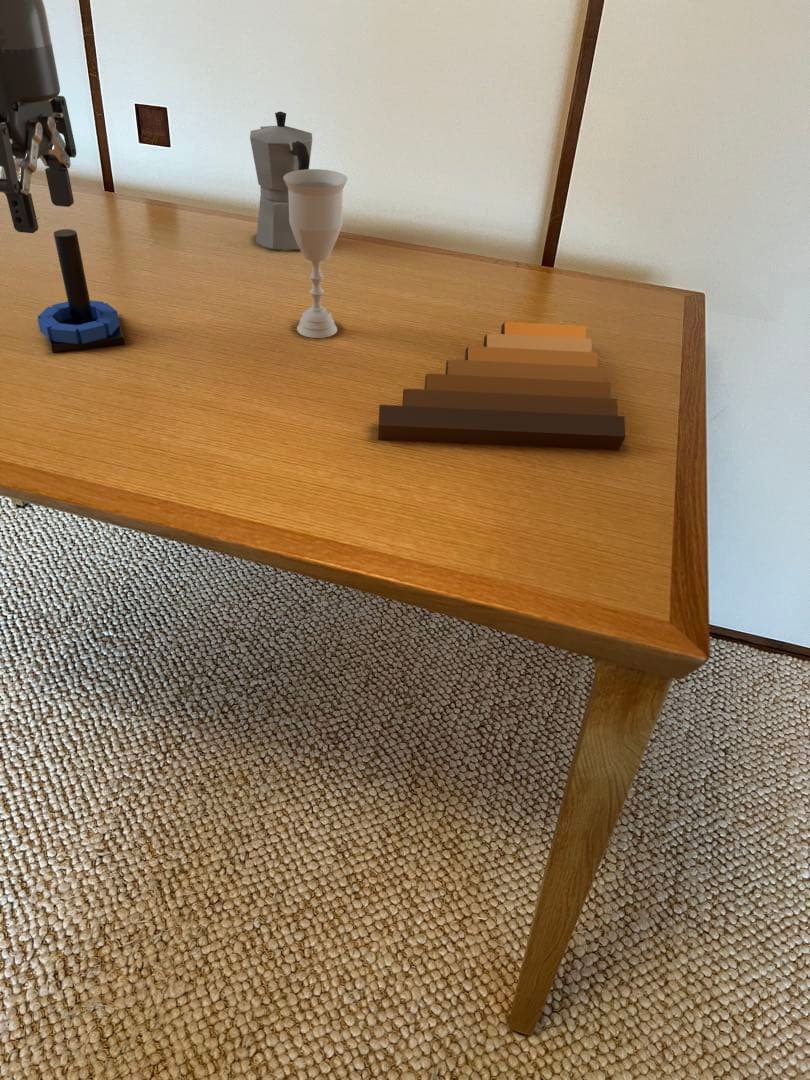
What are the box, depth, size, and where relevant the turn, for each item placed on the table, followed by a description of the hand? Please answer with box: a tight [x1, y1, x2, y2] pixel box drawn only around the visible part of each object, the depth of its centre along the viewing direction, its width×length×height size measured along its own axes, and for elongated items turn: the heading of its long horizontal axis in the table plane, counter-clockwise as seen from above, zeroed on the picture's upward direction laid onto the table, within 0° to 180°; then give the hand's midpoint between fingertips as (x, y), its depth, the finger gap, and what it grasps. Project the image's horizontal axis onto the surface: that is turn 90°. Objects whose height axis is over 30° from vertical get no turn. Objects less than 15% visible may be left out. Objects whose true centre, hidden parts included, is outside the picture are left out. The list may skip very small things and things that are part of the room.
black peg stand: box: [49, 228, 126, 354], centre depth 93 cm, size 8×8×12 cm
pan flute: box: [377, 321, 626, 451], centre depth 92 cm, size 25×3×25 cm
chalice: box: [283, 168, 348, 339], centre depth 96 cm, size 7×7×18 cm
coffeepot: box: [249, 111, 313, 252], centre depth 119 cm, size 15×9×18 cm, turn 29°
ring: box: [37, 299, 120, 344], centre depth 96 cm, size 8×8×2 cm
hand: (46, 218), depth 85 cm, fingers open, 8 cm apart
